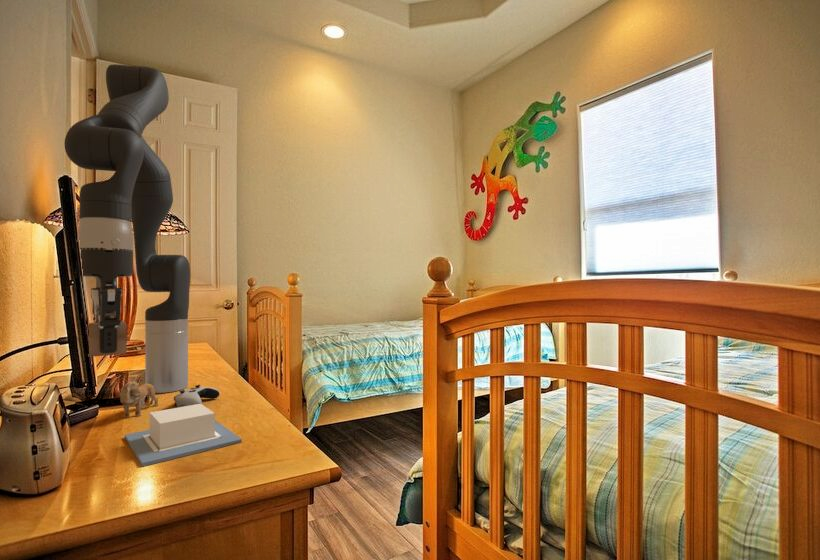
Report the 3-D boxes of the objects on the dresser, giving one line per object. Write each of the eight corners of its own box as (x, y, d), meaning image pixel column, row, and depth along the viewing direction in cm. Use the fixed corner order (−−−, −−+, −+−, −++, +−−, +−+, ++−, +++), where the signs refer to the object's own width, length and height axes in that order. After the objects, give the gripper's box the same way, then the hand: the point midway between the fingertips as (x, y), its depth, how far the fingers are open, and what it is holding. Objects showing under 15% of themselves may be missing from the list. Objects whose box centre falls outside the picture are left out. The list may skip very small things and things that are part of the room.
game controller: (201, 403, 87) (179, 384, 88) (184, 423, 87) (162, 404, 88) (223, 392, 97) (203, 374, 97) (207, 410, 97) (188, 392, 97)
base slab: (149, 436, 72) (149, 412, 72) (200, 425, 77) (200, 403, 77) (160, 449, 66) (160, 423, 66) (214, 437, 71) (214, 413, 71)
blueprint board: (124, 437, 73) (124, 433, 73) (211, 419, 82) (211, 416, 82) (142, 466, 61) (142, 462, 61) (241, 442, 70) (241, 438, 70)
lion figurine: (139, 421, 82) (139, 383, 82) (114, 423, 81) (114, 384, 81) (161, 404, 94) (161, 371, 94) (139, 405, 93) (139, 372, 93)
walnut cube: (85, 353, 71) (85, 323, 71) (122, 350, 74) (122, 321, 74) (88, 356, 67) (88, 325, 67) (126, 353, 70) (126, 323, 70)
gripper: (74, 249, 73) (74, 348, 73) (80, 243, 63) (80, 358, 62) (126, 251, 78) (126, 344, 78) (140, 245, 68) (140, 353, 67)
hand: (106, 350), depth 70 cm, fingers closed on walnut cube, 5 cm apart
